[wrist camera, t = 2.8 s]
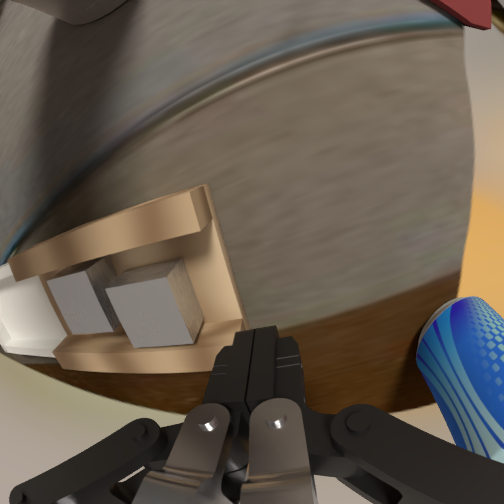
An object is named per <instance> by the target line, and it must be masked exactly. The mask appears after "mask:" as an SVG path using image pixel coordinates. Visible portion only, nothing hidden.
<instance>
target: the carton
mask: <svg viewBox="0 0 504 504" xmlns="http://www.w3.org/2000/svg"><path fill="white" fill-rule="evenodd" d="M429 1H431V2H433V3H434V4H436V5H438V6H439V7H441V8H442V9H444V10H445V11H447V12H448V13H450V14H451V15H453V16H454V17H456V18H457V19H458V20H460V21H461V22H462V23H464V26H467V27H471V28H475V29H479V30H487V29H491V0H429Z"/></svg>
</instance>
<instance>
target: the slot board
mask: <svg viewBox="0 0 504 504" xmlns="http://www.w3.org/2000/svg"><path fill="white" fill-rule="evenodd" d="M106 255H109V256H110V258H111V261H112V263H113V266H114V269H115V271H116V274H117V276H118V277H119V276H120V275H121V274H122V273H123V272H124V271H125V270H127V269H131V268H136V267H140V266H145V265H149V264H153V263H158V262H162V261H167V260H172V259H176V258H181V257H183V259H184V262H185V265H186V268H187V271H188V274H189V276H190V279H191V282H192V285H193V288H194V290H195V293H196V296H197V299H198V301H199V304H200V307H201V309H202V312H203V315H204V319H203V321H202V324H201V326H200V329H199V331H198V334H197V336H196V339H195V341H194V343H193V344H183V345H171V346H157V347H140V348H134V347H133V345H132V343H131V341H130V339H129V338H128V336H127V334H126V332H125V330H124V328H123V326H122V324H121V323H120V325H119V326H118V327H117V328H116V330H115V331H114V332H103V333H86V334H72V332H71V330H70V328H69V327H68V325H67V323H66V321H65V319H64V317H63V315H62V313H61V311H60V309H59V307H58V305H57V303H56V301H55V299H54V297H53V295H52V292H51V290H50V288H49V286H48V283H47V280H49V279H50V278H51V277H53V276H54V275H56V274H57V273H59V272H60V271H62V270H63V269H65V268H66V267H67V266H71V265H74V264H78V263H81V262H85V261H88V260H92V259H95V258H99V257H102V256H106ZM8 263H9V266H10V268H11V271H12V273H13V276H14V278H15V281H16V282H18V281H21V280H25V279H28V278H31V277H34V276H37V275H38V276H39V278H40V281H41V283H42V285H43V288H44V290H45V292H46V294H47V297H48V299H49V301H50V303H51V305H52V307H53V309H54V311H55V313H56V315H57V317H58V319H59V321H60V323H61V324H62V326H63V328H64V330H65V332H66V334H67V336H66V337H65V338H64V339H63V340H62V342H61V343H60V344H59V345H58V346H57V347H56V348H55V349H54V350H53V351H52V353H53V354H54V356H55V357H56V359H57V360H58V362H59V364H60V365H61V367H62V368H63V369H69V370H80V371H93V372H110V373H182V372H201V371H212V368H213V367H214V366H213V365H214V362H215V358H216V355H217V354H218V353H219V352H220V350H221V349H222V348H223V347H224V346H229V345H232V344H233V340H234V335H235V332H237V331H244V330H250V326H249V323H248V320H247V317H246V313H245V310H244V307H243V304H242V300H241V297H240V294H239V290H238V287H237V283H236V280H235V277H234V273H233V270H232V266H231V263H230V260H229V256H228V253H227V249H226V246H225V242H224V239H223V235H222V232H221V228H220V225H219V221H218V217H217V214H216V210H215V207H214V203H213V199H212V196H211V192H210V188H209V185H208V184H204V185H201V186H197V187H194V188H190V189H187V190H183V191H180V192H177V193H173V194H170V195H167V196H163V197H160V198H157V199H154V200H151V201H148V202H145V203H142V204H139V205H136V206H133V207H130V208H127V209H124V210H121V211H118V212H116V213H113V214H110V215H107V216H105V217H102V218H99V219H97V220H94V221H91V222H89V223H86V224H84V225H81V226H79V227H76V228H74V229H71V230H69V231H66V232H64V233H61V234H59V235H57V236H54V237H52V238H50V239H47V240H45V241H43V242H41V243H38V244H36V245H34V246H32V247H30V248H29V249H27V250H25V251H23V252H21V253H19V254H17V255H16V256H14V257H12V258H10V259H9V260H8Z"/></svg>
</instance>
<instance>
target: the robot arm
mask: <svg viewBox="0 0 504 504" xmlns="http://www.w3.org/2000/svg"><path fill="white" fill-rule="evenodd" d="M12 1H15V2H18V3H21V4H24V5H26V6H29V7H32V8H34V9H37V10H40V11H42V12H44V13H47V14H49V15H51V16H54V17H56V18H58V19H61V20H63V21H65V22H67V23H70V24H74V25H81V24H86V23H89V22H93V21H95V20H97V19H99V18H101V17H103V16H105V15H106V14H108V13H110V12H111V11H113V10H114V9H116V8H117V7H119V6H120V5H121V4H123V3H124V2H125V1H126V0H12ZM213 366H214V367H213V368H212V372H211V375H210V378H209V382H208V385H207V389H206V392H205V395H204V399H203V402H202V405H200V406H198V407H196V408H194V409H193V410H191V411H190V412H189V413H188V415H187V416H186V418H185V420H184V422H183V423H180V424H175V425H171V426H167V427H161V428H160V426H159V425H158V424H157V423H156V422H155V421H154V420H152V419H149V418H140V419H136V420H134V421H132V422H130V423H128V424H127V425H125V426H124V427H122V428H121V429H119V430H118V431H116V432H114V433H113V434H111V435H110V436H108V437H106V438H105V439H103V440H101V441H100V442H98V443H96V444H95V445H93V446H91V447H90V448H88V449H86V450H85V451H83V452H81V453H79V454H78V455H76V456H74V457H72V458H70V459H69V460H67V461H65V462H63V463H61V464H60V465H58V466H56V467H54V468H52V469H50V470H48V471H46V472H44V473H42V474H40V475H38V476H36V477H34V478H32V479H30V480H28V481H26V482H24V483H21V484H19V485H18V486H16V487H14V488H13V490H12V491H11V493H10V497H9V502H10V504H318V500H317V494H316V488H315V487H316V486H315V480H314V475H321V476H329V477H336V478H337V479H338V480H339V481H340V482H342V483H343V484H345V485H346V486H347V487H349V488H350V489H352V490H353V491H355V492H356V493H358V494H359V495H361V496H362V497H364V498H365V499H367V500H368V501H370V502H371V503H373V504H504V463H501V462H498V461H495V460H492V459H490V458H487V457H484V456H481V455H479V454H476V453H474V452H471V451H468V450H466V449H463V448H461V447H459V446H456V445H454V444H451V443H449V442H447V441H444V440H442V439H440V438H437V437H435V436H433V435H431V434H429V433H427V432H424V431H422V430H420V429H418V428H416V427H414V426H412V425H410V424H407V423H406V422H404V421H402V420H400V419H398V418H396V417H394V416H392V415H390V414H388V413H386V412H384V411H382V410H380V409H378V408H376V407H374V406H372V405H367V404H357V405H352V406H349V407H347V408H345V409H343V410H341V411H340V412H339V413H338V414H337V415H333V414H322V413H318V412H315V411H313V410H311V409H310V408H308V407H307V406H306V395H305V384H304V373H303V368H302V363H301V357H300V352H299V347H298V344H297V342H296V341H295V340H294V339H293V338H292V336H290V337H284V338H279V334H278V330H277V327H276V325H275V326H269V327H263V328H256V329H250V330H244V331H237V332H235V335H234V340H233V344H232V345H229V346H224V347H223V348H222V349H221V350H220V352H219V353H218V354H217V355H216V358H215V362H214V365H213ZM142 466H144V467H145V469H143V470H142V471H140V472H139V473H137V474H135V475H134V476H132V477H131V478H129V479H128V480H126V481H124V482H119V481H120V480H122V479H124V478H125V477H127V476H128V475H130V474H132V473H133V472H135V471H136V470H138V469H139V468H141V467H142Z"/></svg>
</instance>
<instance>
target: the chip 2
mask: <svg viewBox="0 0 504 504" xmlns="http://www.w3.org/2000/svg"><path fill="white" fill-rule="evenodd" d="M105 290H106V292H107V295H108V297H109V299H110V301H111V303H112V306H113V308H114V310H115V312H116V314H117V316H118V318H119V320H120V322H121V324H122V326H123V328H124V330H125V332H126V334H127V336H128V338H129V339H130V341H131V343H132V345H133V347H134V348H140V347H157V346H171V345H183V344H193V343H194V341H195V339H196V336H197V334H198V331H199V329H200V326H201V324H202V321H203V319H204V315H203V312H202V309H201V307H200V304H199V301H198V299H197V296H196V293H195V290H194V288H193V285H192V282H191V279H190V276H189V274H188V271H187V268H186V265H185V262H184V259H183V257H181V258H176V259H172V260H167V261H162V262H158V263H153V264H149V265H145V266H140V267H136V268H131V269H127V270H125V271H124V272H123V273H122V274H121V275H120V276H119V277H118V278H116V279H115V280H114V281H113V282H112V283H111V284H110V285H109V286H108V287H106V288H105Z"/></svg>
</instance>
